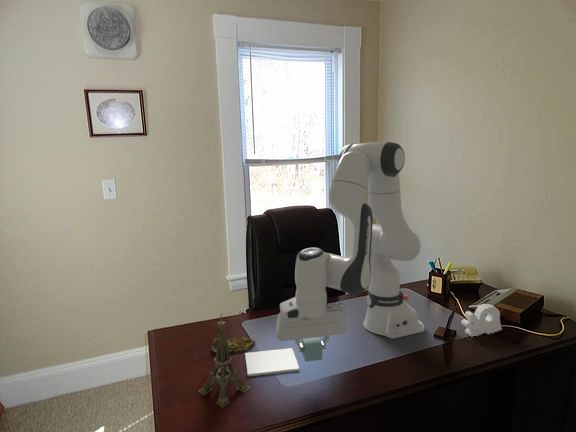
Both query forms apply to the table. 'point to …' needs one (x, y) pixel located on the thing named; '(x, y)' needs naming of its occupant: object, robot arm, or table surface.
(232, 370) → the eiffel tower
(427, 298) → the table surface
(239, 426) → the table surface
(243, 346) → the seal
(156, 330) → the table surface
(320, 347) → the cube
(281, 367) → the board
